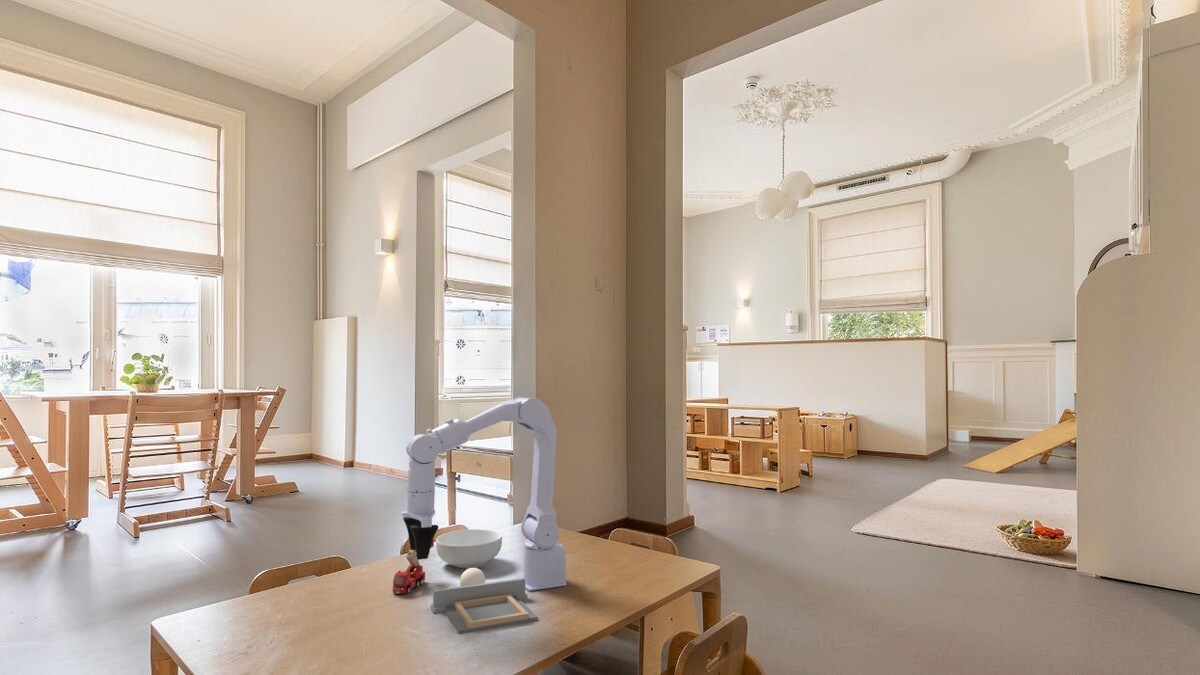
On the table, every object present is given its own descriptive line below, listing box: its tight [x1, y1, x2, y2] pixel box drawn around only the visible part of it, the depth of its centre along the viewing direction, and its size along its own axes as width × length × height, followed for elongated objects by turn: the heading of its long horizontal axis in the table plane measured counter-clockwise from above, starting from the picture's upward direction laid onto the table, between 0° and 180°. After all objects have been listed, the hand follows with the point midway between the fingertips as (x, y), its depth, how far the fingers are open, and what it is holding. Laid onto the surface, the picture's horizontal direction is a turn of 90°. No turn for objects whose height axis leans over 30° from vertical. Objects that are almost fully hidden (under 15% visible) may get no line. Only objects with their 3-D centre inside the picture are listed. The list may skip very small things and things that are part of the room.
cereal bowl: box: [435, 528, 503, 570], centre depth 161 cm, size 17×17×7 cm
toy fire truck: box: [392, 538, 435, 595], centre depth 144 cm, size 3×14×10 cm, turn 168°
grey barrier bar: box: [430, 577, 529, 614], centre depth 133 cm, size 20×3×4 cm, turn 117°
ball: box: [459, 567, 486, 587], centre depth 139 cm, size 6×6×6 cm
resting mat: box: [443, 594, 539, 635], centre depth 127 cm, size 16×12×2 cm
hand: (419, 554), depth 134 cm, fingers open, 7 cm apart
